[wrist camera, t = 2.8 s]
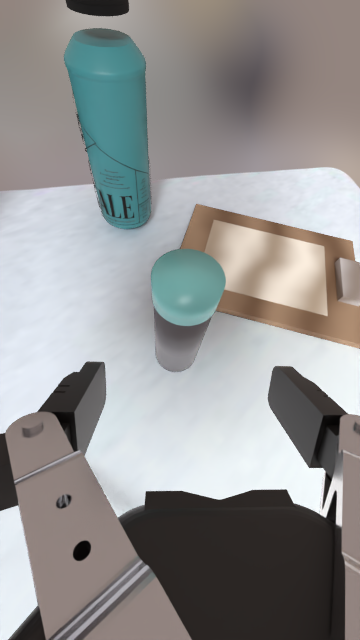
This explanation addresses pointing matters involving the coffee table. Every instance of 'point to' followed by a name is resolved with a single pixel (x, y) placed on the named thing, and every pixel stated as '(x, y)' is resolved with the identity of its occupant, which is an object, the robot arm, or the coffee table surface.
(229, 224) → the clipboard
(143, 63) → the beverage bottle
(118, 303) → the coffee table surface
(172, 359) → the grey capped container
